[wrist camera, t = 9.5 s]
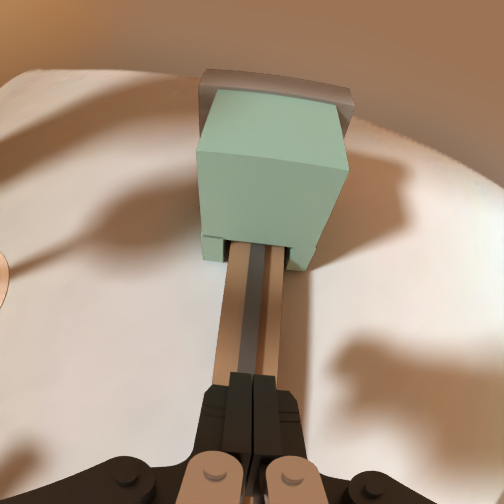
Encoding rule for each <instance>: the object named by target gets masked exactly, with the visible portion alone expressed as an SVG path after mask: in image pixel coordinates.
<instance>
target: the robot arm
mask: <svg viewBox="0 0 504 504" xmlns="http://www.w3.org/2000/svg"><path fill="white" fill-rule="evenodd" d="M300 422H301V421H300V415H299V410H298V404H297V401H296V399H295V398H294V397H293V395H292V394H291V393H290V392H289V391H280V390H276V380H275V376H272V375H259V374H253V376H252V374H249V373H239V372H230V378H229V386H224V385H216V384H213V385H212V386H211V387H210V388H209V389H208V390H207V391H206V392H205V393H204V398H203V403H202V408H201V413H200V418H199V423H198V428H197V433H196V438H195V443H194V448H193V451H192V453H191V455H190V456H189V457H188V458H187V459H186V460H185V461H184V462H182V463H180V464H177V465H174V466H168V467H151V468H150V467H149V465H147V464H146V463H145V462H143V461H142V460H140V459H138V458H134V457H130V456H119V457H114V458H112V459H109V460H107V461H105V462H103V463H101V464H98V465H96V466H94V467H91V468H89V469H87V470H84V471H82V472H80V473H77V474H75V475H72V476H70V477H67V478H65V479H62V480H60V481H57V482H54V483H52V484H49V485H46V486H43V487H41V488H38V489H35V490H32V491H29V492H26V493H23V494H20V495H16V496H13V497H10V498H6V499H3V500H0V504H239V501H240V496H242V495H243V490H244V485H245V493H244V496H247V497H253V504H437V503H435V502H433V501H431V500H429V499H427V498H426V497H424V496H422V495H420V494H418V493H417V492H415V491H413V490H411V489H410V488H408V487H406V486H405V485H403V484H401V483H399V482H398V481H396V480H394V479H393V478H391V477H390V476H388V475H386V474H384V473H381V472H378V471H365V472H361V473H359V474H357V475H356V476H354V477H353V478H352V480H351V481H349V480H343V479H337V478H332V477H328V476H325V475H323V474H321V473H319V471H318V469H317V467H316V466H315V465H314V464H313V463H312V462H310V461H309V460H308V459H307V455H306V449H305V444H304V438H303V432H302V427H301V424H300Z"/></svg>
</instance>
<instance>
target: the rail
mask: <svg viewBox="0 0 504 504" xmlns="http://www.w3.org/2000/svg"><path fill="white" fill-rule="evenodd" d="M218 89H223V90H235V91H246V92H255V93H264V94H272V95H279V96H286V97H293V98H299V99H305V100H311V101H317V102H322V103H327V104H332V105H336V108H337V112H338V117H339V121H340V126H341V130H342V135H343V140H344V137H345V134H346V131H347V128H348V126H349V123H350V120H351V117H352V114H353V111H354V109H355V104H354V101H353V98H352V95H351V92H350V89H349V88H345V87H340V86H336V85H331V84H326V83H320V82H316V81H310V80H304V79H298V78H292V77H286V76H279V75H271V74H263V73H254V72H244V71H231V70H217V69H216V70H215V69H206V71H205V73H204V74H203V76H202V78H201V80H200V82H199V84H198V95H199V127H200V137H201V134H202V131H203V129H204V126H205V123H206V120H207V117H208V114H209V112H210V109H211V106H212V103H213V101H214V98H215V95H216V93H217V90H218ZM283 268H284V246H276V245H268V244H260V243H251V242H243V241H234V240H231V245H230V252H229V259H228V266H227V273H226V280H225V288H224V295H223V302H222V309H221V317H220V324H219V332H218V340H217V348H216V355H215V363H214V371H213V380H212V385H213V384H216V385H224V386H229V378H230V372H239V373H249V374H252V376H253V374H259V375H272V376H275V380H276V388H277V374H278V360H279V344H280V327H281V309H282V290H283ZM244 493H245V485H244V490H243V495H242V496H240V501H239V504H253V497H247V496H244Z"/></svg>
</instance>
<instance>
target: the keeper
mask: <svg viewBox="0 0 504 504" xmlns="http://www.w3.org/2000/svg"><path fill="white" fill-rule="evenodd" d="M196 159H197V174H198V188H199V201H200V213H201V225H202V230H201V244H202V254H203V260H210V261H218V262H223V258H224V252H225V245H226V240H234V241H243V242H251V243H260V244H268V245H276V246H285V247H287V251H286V269H287V270H296V271H306V269H307V267H308V265H309V263H310V261H311V259H312V257H313V255H314V252H315V250H316V244H317V242H318V240H319V238H320V236H321V234H322V231H323V229H324V227H325V225H326V223H327V221H328V218H329V216H330V214H331V212H332V209H333V207H334V205H335V203H336V201H337V198H338V196H339V194H340V191H341V189H342V187H343V185H344V182H345V180H346V178H347V175H348V173H349V166H348V160H347V155H346V150H345V145H344V140H343V135H342V130H341V126H340V121H339V117H338V112H337V108H336V105H332V104H327V103H322V102H317V101H311V100H305V99H299V98H293V97H286V96H279V95H272V94H264V93H255V92H246V91H235V90H223V89H218V90H217V93H216V95H215V98H214V101H213V103H212V106H211V109H210V112H209V114H208V117H207V120H206V123H205V126H204V129H203V131H202V134H201V137H200V140H199V143H198V146H197V149H196Z"/></svg>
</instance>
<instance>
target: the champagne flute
mask: <svg viewBox="0 0 504 504" xmlns="http://www.w3.org/2000/svg"><path fill="white" fill-rule="evenodd" d="M8 281H9V270H8V265H7V262H6V259H5V258H4V256H3V255H2V254H1V253H0V307H1V305H2V303H3V300H4V298H5V295H6V291H7V287H8Z"/></svg>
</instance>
